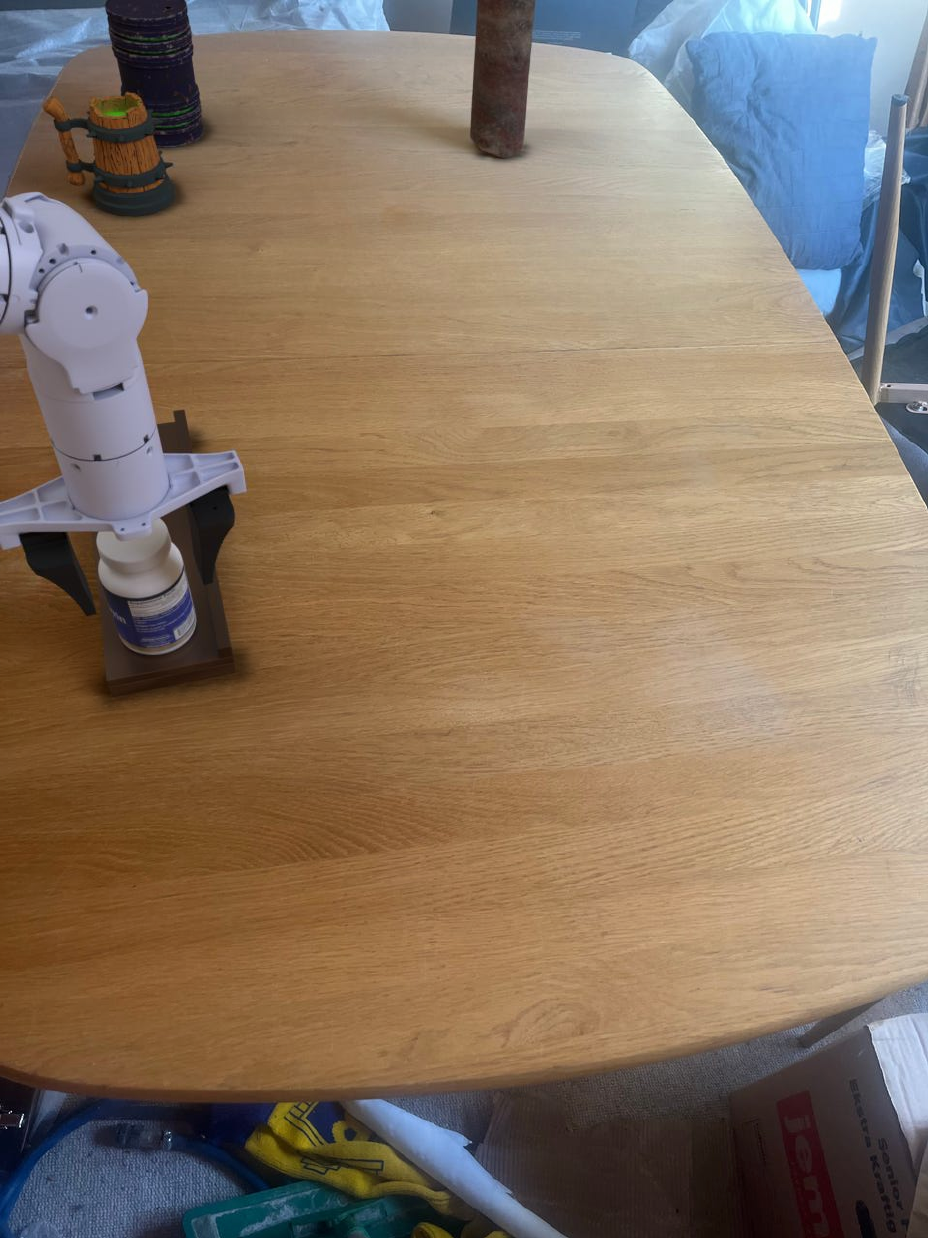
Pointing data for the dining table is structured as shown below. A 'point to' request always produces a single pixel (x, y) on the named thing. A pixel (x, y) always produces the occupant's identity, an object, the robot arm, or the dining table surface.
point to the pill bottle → (147, 590)
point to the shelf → (211, 637)
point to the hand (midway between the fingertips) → (147, 588)
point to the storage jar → (158, 64)
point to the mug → (118, 155)
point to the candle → (501, 75)
